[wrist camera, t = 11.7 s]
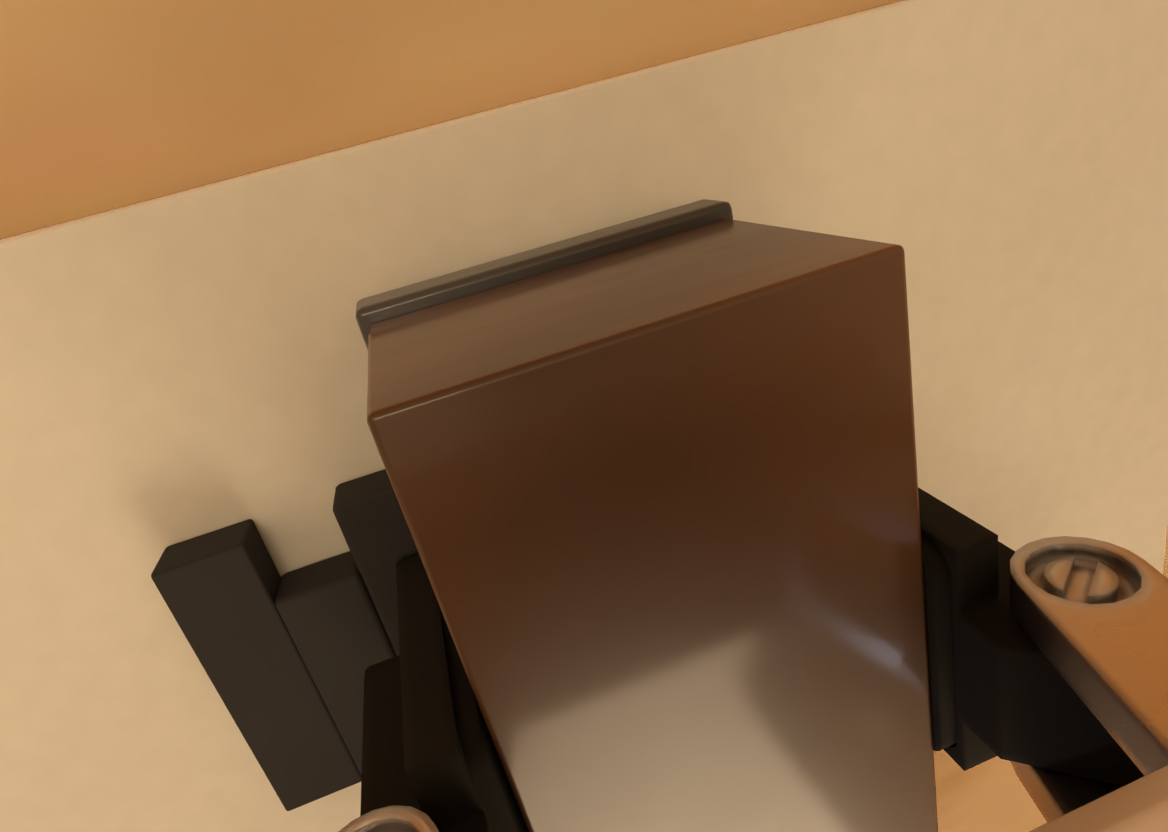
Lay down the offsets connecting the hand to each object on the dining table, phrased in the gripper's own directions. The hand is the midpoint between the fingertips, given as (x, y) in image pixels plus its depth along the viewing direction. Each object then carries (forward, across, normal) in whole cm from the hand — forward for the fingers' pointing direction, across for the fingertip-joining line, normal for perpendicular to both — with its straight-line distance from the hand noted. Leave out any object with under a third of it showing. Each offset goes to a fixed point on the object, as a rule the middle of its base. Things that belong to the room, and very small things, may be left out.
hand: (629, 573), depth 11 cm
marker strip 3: (+1, +4, +1) cm, 4 cm away
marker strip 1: (+1, +6, 0) cm, 6 cm away
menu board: (+2, -1, 0) cm, 2 cm away
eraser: (+1, 0, 0) cm, 1 cm away
